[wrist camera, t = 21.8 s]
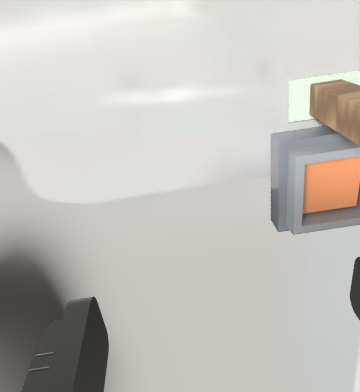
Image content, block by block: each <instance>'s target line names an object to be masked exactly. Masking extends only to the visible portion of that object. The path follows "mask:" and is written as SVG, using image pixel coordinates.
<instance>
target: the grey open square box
mask: <svg viewBox="0 0 360 392" xmlns="http://www.w3.org/2000/svg"><path fill="white" fill-rule="evenodd" d="M357 156H360V146H359V145H358V144H356V143H354V142H353V141H351V140H350V139H348V138H346V137H345V136H343V135H342V134H340V133H338V132H337V131H335V130H333V129H332V128H330V127H329V126H321V127H314V128H307V129H301V130H294V131H287V132H280V133H274V134H271V221H272V222H273V224H274V225H275V227H276V229H277V231H278V232H282V231H288V230H291V232H292V233H293V235H294V234H301V233H307V232H314V231H321V230H327V229H333V228H340V227H347V226H353V225H360V184H359V192H358V199H357V206H351V207H345V208H338V209H332V210H325V211H318V212H312V213H305V214H302V213H303V194H304V174H305V164H310V163H317V162H324V161H330V160H337V159H344V158H350V157H357Z"/></svg>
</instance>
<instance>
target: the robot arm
mask: <svg viewBox="0 0 360 392" xmlns="http://www.w3.org/2000/svg"><path fill="white" fill-rule="evenodd" d="M350 300H351V305H352V307H353V310H354V312H355V314H356V315H357V317H358V318H359V320H360V257H358V258H357V259H356V260H355V264H354V270H353V277H352V284H351V291H350ZM108 349H109V344H108V334H107V330H106V327H105V324H104V321H103V318H102V315H101V312H100V309H99V306H98V303H97V300H96V298H95V297H89V298H82V299H76V300H70V301H69V302H68V303H67V306H66V309H65V313H64V317H63V320H58V321H52V322H51V324H50V325H49V326H48V328H47V329H46V330H45V332H44V333H43V334H42V335H41V337H40V339H39V343H38V345H37V348H36V351H35V357H34V358H33V360H32V363H31V366H30V372H29V373H28V375H27V378H26V381H25V384H24V386H23V390H22V392H104V384H105V376H106V368H107V359H108V351H109V350H108Z"/></svg>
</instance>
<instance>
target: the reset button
mask: <svg viewBox="0 0 360 392" xmlns="http://www.w3.org/2000/svg"><path fill="white" fill-rule="evenodd" d="M359 184H360V156H357V157H350V158H344V159H337V160H330V161H324V162H317V163H310V164H305V174H304V194H303V213H302V214H305V213H312V212H318V211H325V210H332V209H338V208H345V207H351V206H357V199H358V192H359Z"/></svg>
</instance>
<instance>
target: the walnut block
mask: <svg viewBox="0 0 360 392" xmlns="http://www.w3.org/2000/svg"><path fill="white" fill-rule="evenodd" d="M309 115H311V116H312V117H314V118H316V119H317V120H319V121H320V122H322V123H324V124H325V125H327V126H329V127H330V128H332V129H333V130H335V131H337V132H338V133H340V134H342V135H343V136H345V137H346V138H348V139H350V140H351V141H353V142H354V143H356V144H358V145H359V146H360V85H357V84H354V83H351V82H348V81H345V80H342V79H340V80H333V81H327V82H320V83H314V84H311V86H310V108H309Z"/></svg>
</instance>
